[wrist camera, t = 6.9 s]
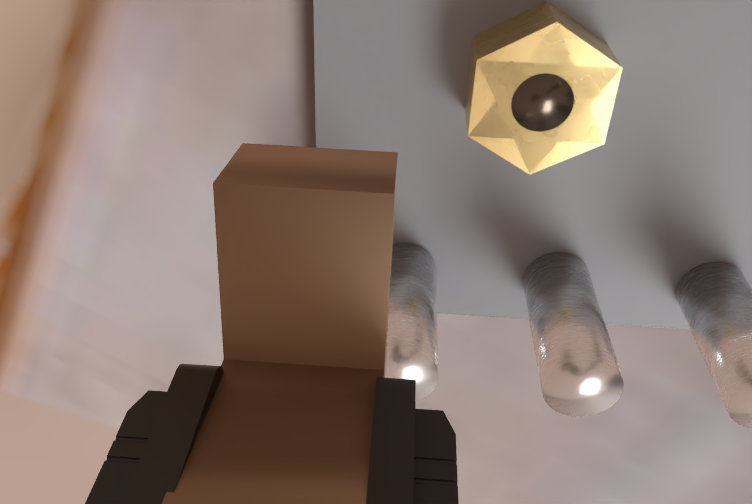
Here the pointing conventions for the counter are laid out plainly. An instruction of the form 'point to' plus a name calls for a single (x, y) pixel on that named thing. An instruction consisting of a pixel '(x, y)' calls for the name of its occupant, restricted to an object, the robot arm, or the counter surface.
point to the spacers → (577, 330)
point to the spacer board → (567, 178)
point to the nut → (540, 89)
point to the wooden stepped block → (296, 326)
